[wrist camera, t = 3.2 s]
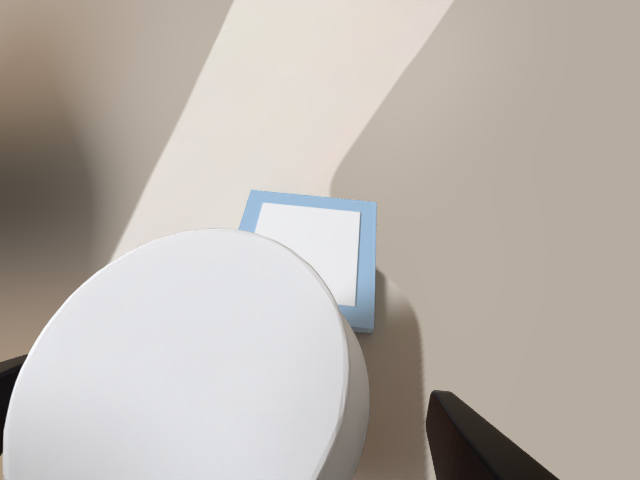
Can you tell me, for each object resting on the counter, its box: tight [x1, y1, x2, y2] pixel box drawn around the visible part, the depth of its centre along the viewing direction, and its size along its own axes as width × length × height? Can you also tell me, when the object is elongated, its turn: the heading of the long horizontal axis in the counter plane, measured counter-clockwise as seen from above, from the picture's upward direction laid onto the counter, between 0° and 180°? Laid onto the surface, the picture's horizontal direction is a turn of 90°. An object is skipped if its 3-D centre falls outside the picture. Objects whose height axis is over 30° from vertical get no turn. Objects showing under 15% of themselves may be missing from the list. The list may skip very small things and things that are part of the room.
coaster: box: [239, 190, 377, 334], centre depth 18 cm, size 8×8×1 cm
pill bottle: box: [3, 228, 370, 480], centre depth 9 cm, size 6×6×11 cm
